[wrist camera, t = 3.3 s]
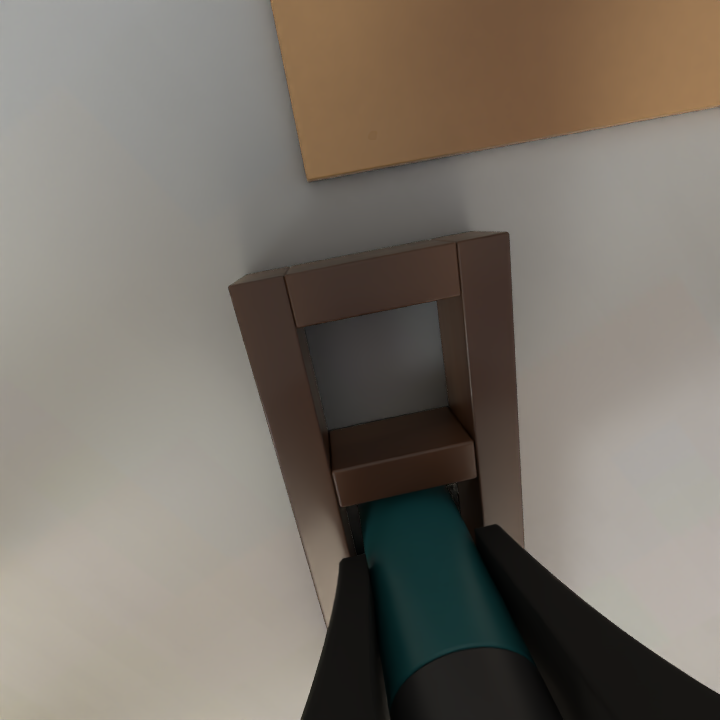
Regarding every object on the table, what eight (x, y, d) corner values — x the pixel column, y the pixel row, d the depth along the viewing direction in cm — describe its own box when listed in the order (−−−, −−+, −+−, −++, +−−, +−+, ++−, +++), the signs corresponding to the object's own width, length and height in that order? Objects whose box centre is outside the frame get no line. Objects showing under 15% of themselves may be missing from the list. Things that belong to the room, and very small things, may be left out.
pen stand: (472, 230, 11) (510, 230, 9) (504, 644, 16) (532, 705, 14) (244, 274, 10) (227, 285, 8) (354, 679, 16) (361, 748, 14)
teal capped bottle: (440, 451, 13) (596, 729, 6) (449, 524, 14) (592, 839, 7) (350, 470, 13) (393, 781, 6) (366, 542, 14) (419, 884, 7)
